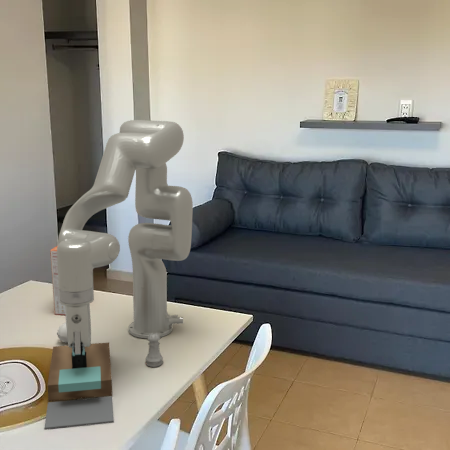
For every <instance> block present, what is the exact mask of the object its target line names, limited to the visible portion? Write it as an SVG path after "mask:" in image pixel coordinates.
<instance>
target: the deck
mask: <svg viewBox="0 0 450 450" xmlns="http://www.w3.org/2000/svg"><path fill="white" fill-rule="evenodd" d="M110 346H111V345H110V342H109V341H108V342H98V343H97V342H96V343H91V345H90V346H89V347H88V346H86V347H85V352H86V359H87V367H98V366H100V370H101V389H92V390H81V391H70V392H59V386H58V383H59V372H60V370H63V369H72V347H71V348H69V347H68V345H56V346H52V350H51V351H52V352H51V360H50V365H49V371H48V372H49V373H48V379H47V386H46V387H47V399H48V400H47V401H48V402H58V401H69V400H79V399H90V398H101V397H111V396H112V397H113V383H112V380H113V379H112V363H111V347H110ZM48 402H47V403H48Z"/></svg>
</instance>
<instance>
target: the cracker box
mask: <svg viewBox="0 0 450 450" xmlns="http://www.w3.org/2000/svg"><path fill="white" fill-rule="evenodd" d="M57 246H58V245H56V246H54V247H53V248H51V249H50V251H49V253H50V266H51V268H50V269H51V279H52V281H51V282H52V294H53V295H52V296H53V297H52V299H53V305H54V306H53V307H54V309H53V310H54V315H56V316H57V315H58V316H59V315H60V316H61V315H62V316H66V314H65V305H62V304H60V302H59V283H58V263H57Z"/></svg>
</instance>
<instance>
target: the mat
mask: <svg viewBox="0 0 450 450" xmlns="http://www.w3.org/2000/svg"><path fill="white" fill-rule="evenodd" d="M113 402H114V401H113V395H112V396H104V397H94V398H83V399H72V400H62V401H51V402H47V407H46V414H45V422H44V430H53V429H63V428H73V427H82V426H83V427H85V426H92V425H93V426H94V425H101V424H102V425H103V424H111V423H115V422H114V420H115V419H114V403H113Z"/></svg>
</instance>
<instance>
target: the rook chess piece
mask: <svg viewBox="0 0 450 450" xmlns="http://www.w3.org/2000/svg"><path fill="white" fill-rule="evenodd" d="M146 339H147V340H148V345H149V346H148V353H147V355H146V358H145V362H144V363H145V364H146V366H147V367H150V368H158V367H160V366H161V365H163V363H164V362H163V358H164V357H163V356H162V354H161V351H160V344H161V343H160V340H161V337H160V336H159V334H157V333H155V334H154V333H152V335H151V334H149V337H148V338H146Z"/></svg>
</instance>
